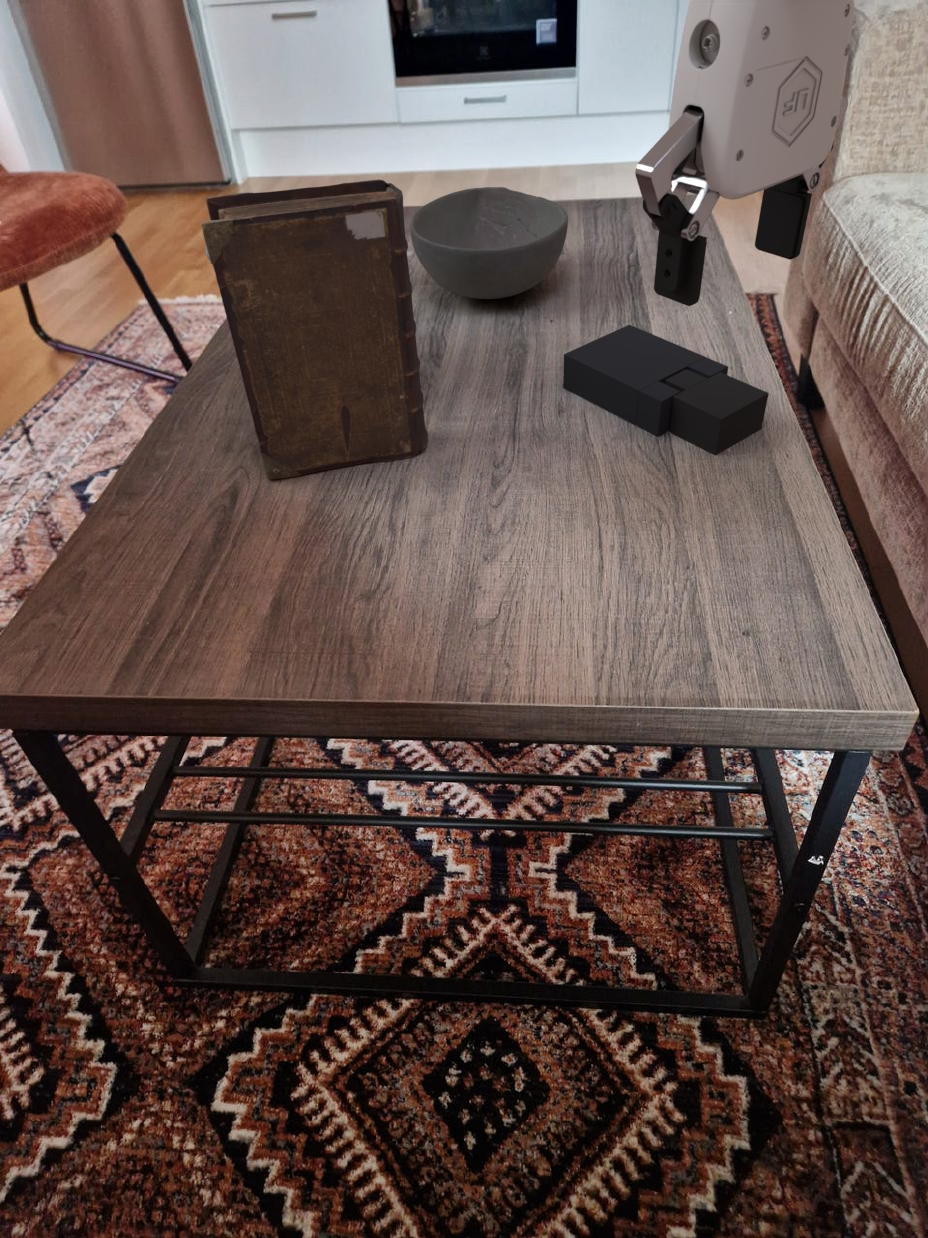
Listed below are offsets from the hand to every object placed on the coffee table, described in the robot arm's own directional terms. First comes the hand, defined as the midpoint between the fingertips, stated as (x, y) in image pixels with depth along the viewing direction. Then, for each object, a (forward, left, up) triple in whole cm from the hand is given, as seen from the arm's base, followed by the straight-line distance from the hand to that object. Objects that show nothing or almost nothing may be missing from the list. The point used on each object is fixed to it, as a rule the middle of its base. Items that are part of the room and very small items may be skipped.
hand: (727, 275), depth 54 cm
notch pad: (+22, -18, -24) cm, 37 cm away
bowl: (+55, -24, -24) cm, 65 cm away
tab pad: (+13, -18, -24) cm, 33 cm away
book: (+34, +12, -24) cm, 44 cm away
